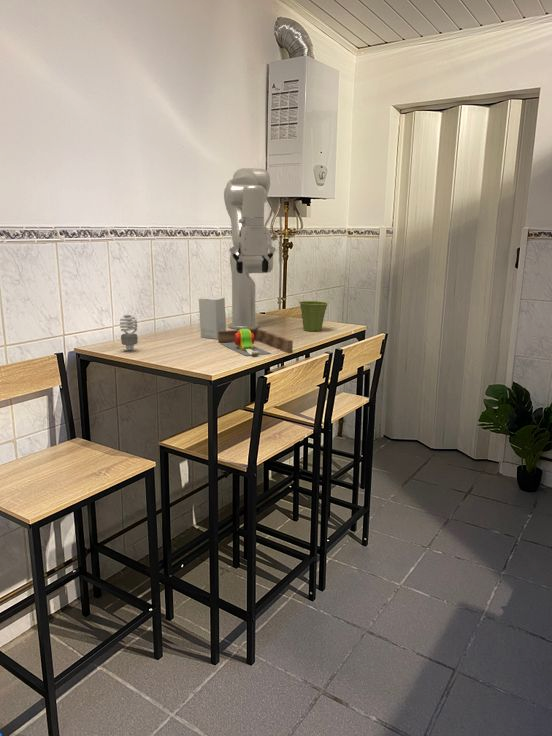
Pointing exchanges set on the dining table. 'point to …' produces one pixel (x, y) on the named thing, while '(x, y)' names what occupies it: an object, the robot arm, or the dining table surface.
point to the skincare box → (212, 316)
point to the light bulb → (129, 338)
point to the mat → (237, 349)
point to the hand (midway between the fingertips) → (252, 272)
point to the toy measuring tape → (245, 341)
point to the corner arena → (259, 339)
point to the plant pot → (313, 314)
